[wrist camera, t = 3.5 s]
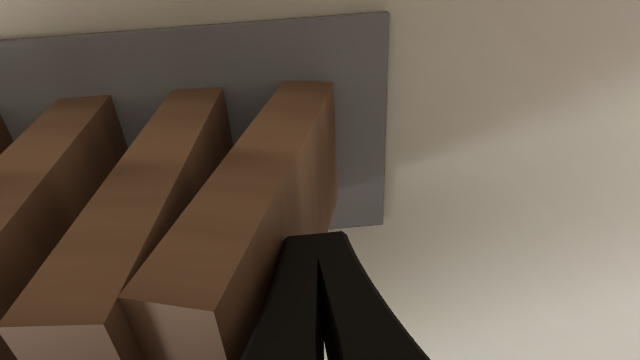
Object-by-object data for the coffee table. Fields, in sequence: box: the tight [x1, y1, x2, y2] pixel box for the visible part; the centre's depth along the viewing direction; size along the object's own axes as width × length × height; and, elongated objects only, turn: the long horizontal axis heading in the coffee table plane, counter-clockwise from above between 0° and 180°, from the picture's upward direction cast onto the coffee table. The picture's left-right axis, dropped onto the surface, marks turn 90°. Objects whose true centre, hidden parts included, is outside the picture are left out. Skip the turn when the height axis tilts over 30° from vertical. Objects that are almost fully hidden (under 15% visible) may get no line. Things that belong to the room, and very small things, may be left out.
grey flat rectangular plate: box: [0, 11, 389, 229], centre depth 15 cm, size 8×19×1 cm, turn 93°
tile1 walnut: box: [117, 81, 338, 360], centre depth 12 cm, size 4×2×9 cm, turn 3°
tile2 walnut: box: [0, 87, 233, 360], centre depth 11 cm, size 4×2×9 cm, turn 3°
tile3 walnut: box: [0, 95, 128, 360], centre depth 11 cm, size 4×2×9 cm, turn 3°
